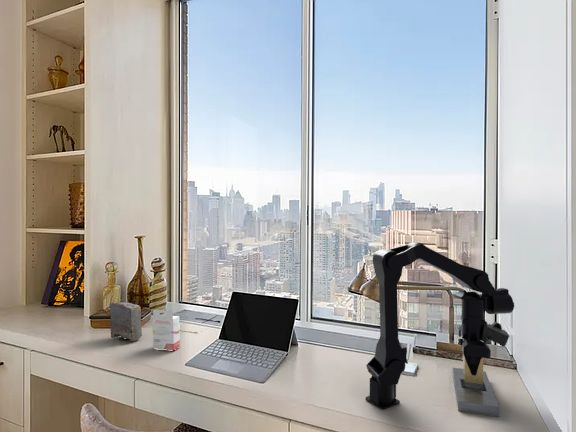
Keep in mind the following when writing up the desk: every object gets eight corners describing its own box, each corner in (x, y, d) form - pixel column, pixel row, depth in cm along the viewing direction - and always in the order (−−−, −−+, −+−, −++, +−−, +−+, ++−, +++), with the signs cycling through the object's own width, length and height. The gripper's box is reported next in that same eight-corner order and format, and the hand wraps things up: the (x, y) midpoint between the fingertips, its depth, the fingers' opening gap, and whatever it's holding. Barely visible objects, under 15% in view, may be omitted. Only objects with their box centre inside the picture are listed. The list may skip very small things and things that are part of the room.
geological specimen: (142, 339, 152) (142, 301, 152) (130, 344, 147) (130, 304, 147) (121, 336, 156) (121, 298, 156) (109, 340, 151) (108, 302, 151)
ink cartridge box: (180, 347, 143) (180, 307, 143) (173, 352, 139) (173, 311, 138) (159, 345, 145) (159, 306, 145) (152, 350, 141) (151, 309, 140)
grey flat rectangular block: (498, 417, 95) (498, 406, 94) (458, 410, 98) (458, 400, 97) (485, 379, 115) (485, 371, 115) (452, 375, 118) (452, 367, 118)
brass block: (483, 384, 103) (483, 358, 103) (464, 381, 105) (464, 356, 105) (480, 377, 108) (481, 352, 108) (463, 375, 109) (463, 350, 109)
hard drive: (418, 363, 125) (379, 356, 131) (414, 372, 118) (373, 365, 124) (418, 368, 125) (379, 361, 131) (414, 378, 118) (373, 370, 124)
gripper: (514, 327, 95) (513, 391, 95) (500, 309, 112) (499, 363, 112) (463, 322, 98) (463, 384, 99) (458, 305, 116) (457, 358, 116)
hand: (472, 371), depth 106 cm, fingers closed on brass block, 4 cm apart
